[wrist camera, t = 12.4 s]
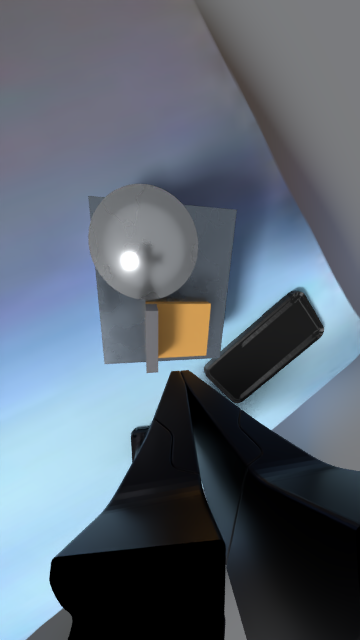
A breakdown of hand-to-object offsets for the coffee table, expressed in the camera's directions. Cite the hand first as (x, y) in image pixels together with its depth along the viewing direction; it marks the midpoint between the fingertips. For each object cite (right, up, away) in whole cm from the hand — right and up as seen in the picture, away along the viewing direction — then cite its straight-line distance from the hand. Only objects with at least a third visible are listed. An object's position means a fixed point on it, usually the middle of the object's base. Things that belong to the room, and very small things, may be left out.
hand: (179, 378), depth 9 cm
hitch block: (-2, +6, +10) cm, 12 cm away
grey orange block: (-3, +2, +6) cm, 7 cm away
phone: (+11, -1, +16) cm, 19 cm away
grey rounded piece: (-3, +9, +8) cm, 12 cm away
